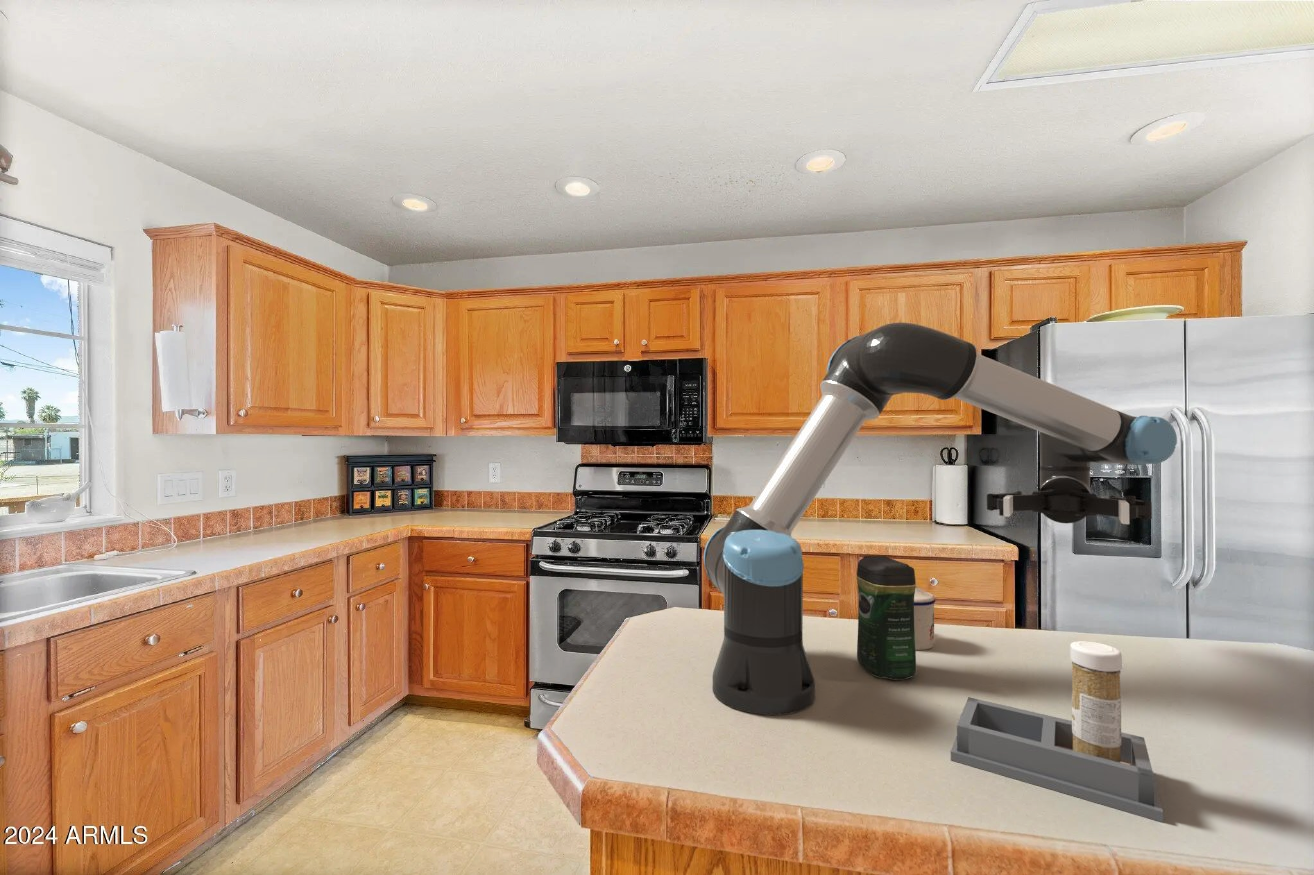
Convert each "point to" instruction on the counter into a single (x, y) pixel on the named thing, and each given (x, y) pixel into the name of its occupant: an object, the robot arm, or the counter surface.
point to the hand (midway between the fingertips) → (1063, 510)
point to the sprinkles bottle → (1096, 699)
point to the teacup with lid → (923, 619)
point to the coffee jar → (886, 617)
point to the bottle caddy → (1055, 757)
